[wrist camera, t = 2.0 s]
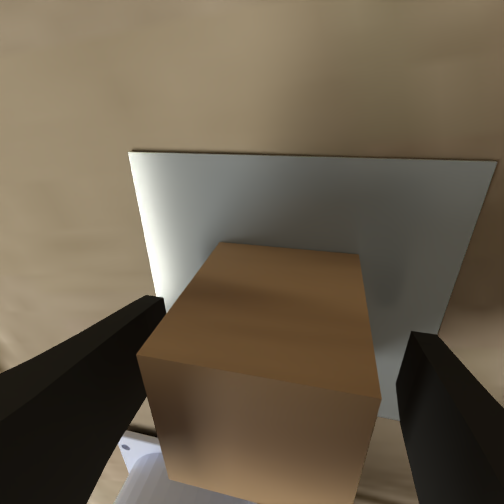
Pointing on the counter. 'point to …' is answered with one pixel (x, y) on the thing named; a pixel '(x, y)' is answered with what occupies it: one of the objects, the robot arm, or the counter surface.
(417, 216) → the tile
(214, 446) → the walnut block
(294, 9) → the counter surface
